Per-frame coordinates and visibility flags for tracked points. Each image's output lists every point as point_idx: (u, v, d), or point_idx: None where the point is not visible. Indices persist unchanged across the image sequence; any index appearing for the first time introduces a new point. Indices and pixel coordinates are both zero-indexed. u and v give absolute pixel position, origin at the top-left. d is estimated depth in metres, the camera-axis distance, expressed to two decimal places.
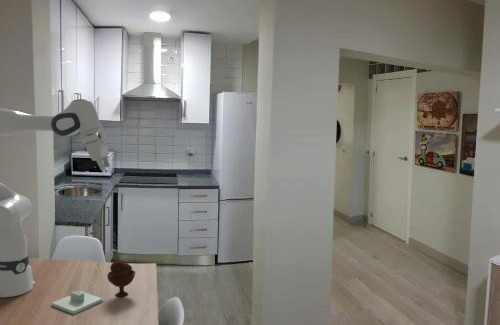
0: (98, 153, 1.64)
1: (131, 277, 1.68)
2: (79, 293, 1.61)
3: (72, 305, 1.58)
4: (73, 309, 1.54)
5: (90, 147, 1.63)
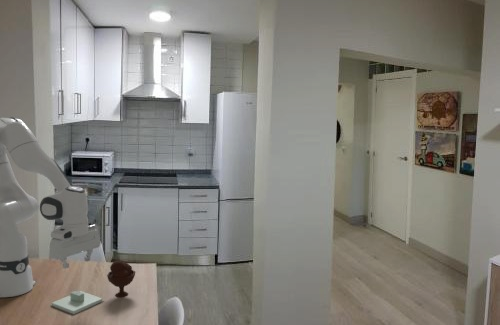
0: (55, 254, 1.50)
1: (131, 277, 1.68)
2: (79, 293, 1.61)
3: (72, 305, 1.58)
4: (73, 309, 1.54)
5: (52, 244, 1.51)
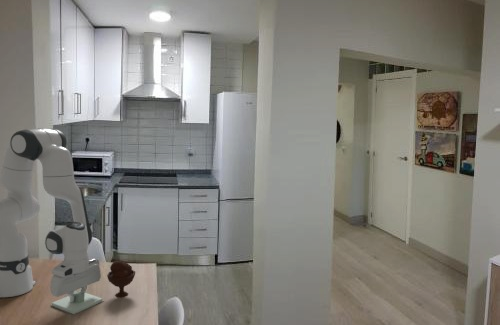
0: (56, 291, 1.52)
1: (131, 277, 1.68)
2: (79, 293, 1.61)
3: (72, 305, 1.58)
4: (73, 309, 1.54)
5: (53, 281, 1.53)
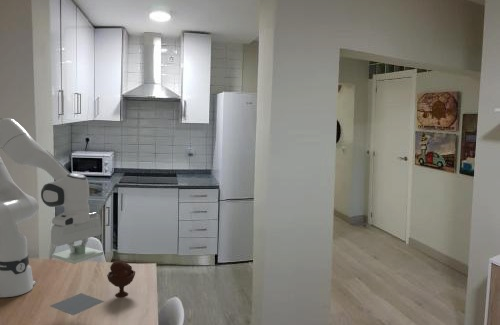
0: (56, 240, 1.50)
1: (131, 277, 1.68)
2: (80, 245, 1.60)
3: (73, 256, 1.56)
4: (74, 259, 1.53)
5: (53, 230, 1.51)
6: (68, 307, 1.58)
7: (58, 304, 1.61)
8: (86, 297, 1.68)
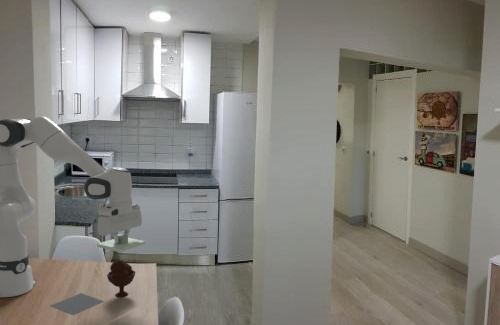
0: (103, 230, 1.58)
1: (131, 277, 1.68)
2: (123, 235, 1.68)
3: (117, 245, 1.64)
4: (119, 248, 1.61)
5: (100, 221, 1.60)
6: (68, 307, 1.58)
7: (58, 304, 1.61)
8: (86, 297, 1.68)
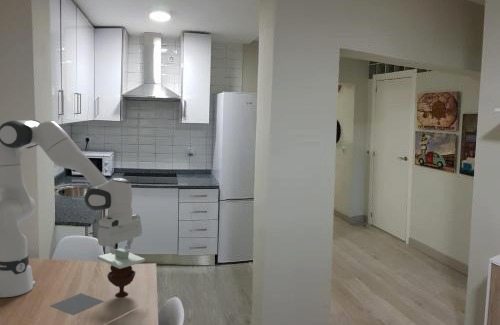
0: (103, 241, 1.59)
1: (131, 277, 1.68)
2: (124, 250, 1.68)
3: (117, 260, 1.65)
4: (119, 264, 1.61)
5: (100, 232, 1.60)
6: (68, 307, 1.58)
7: (58, 304, 1.61)
8: (86, 297, 1.68)
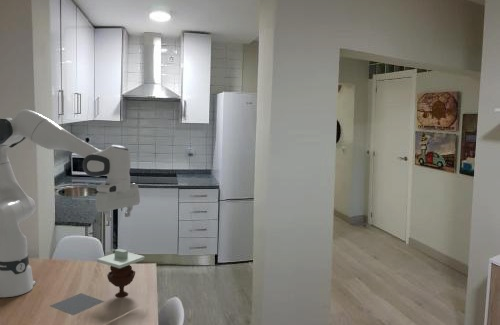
0: (101, 206, 1.60)
1: (131, 277, 1.68)
2: (123, 250, 1.68)
3: (117, 261, 1.65)
4: (119, 264, 1.61)
5: (98, 197, 1.61)
6: (68, 307, 1.58)
7: (58, 304, 1.61)
8: (86, 297, 1.68)
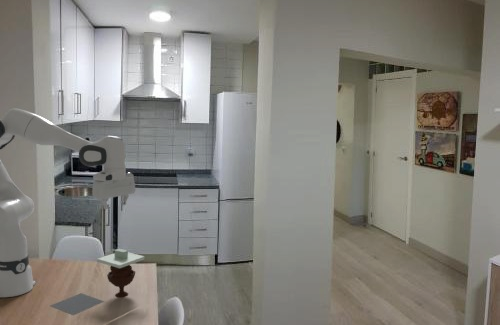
0: (98, 194, 1.66)
1: (131, 277, 1.68)
2: (123, 250, 1.68)
3: (117, 261, 1.65)
4: (119, 264, 1.61)
5: (95, 185, 1.67)
6: (68, 307, 1.58)
7: (58, 304, 1.61)
8: (86, 297, 1.68)
